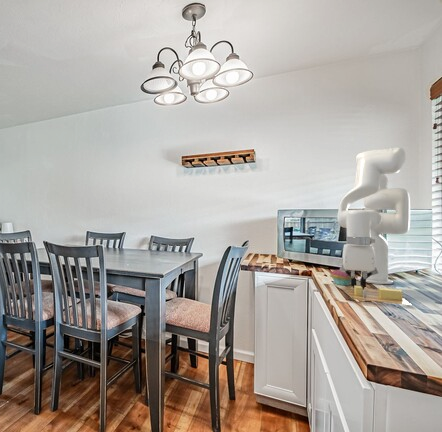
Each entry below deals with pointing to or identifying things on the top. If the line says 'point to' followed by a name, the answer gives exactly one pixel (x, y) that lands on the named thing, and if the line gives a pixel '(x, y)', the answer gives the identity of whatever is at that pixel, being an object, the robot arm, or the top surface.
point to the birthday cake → (340, 277)
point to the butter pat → (358, 290)
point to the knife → (361, 286)
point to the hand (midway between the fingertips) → (358, 288)
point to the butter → (390, 293)
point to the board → (373, 296)
